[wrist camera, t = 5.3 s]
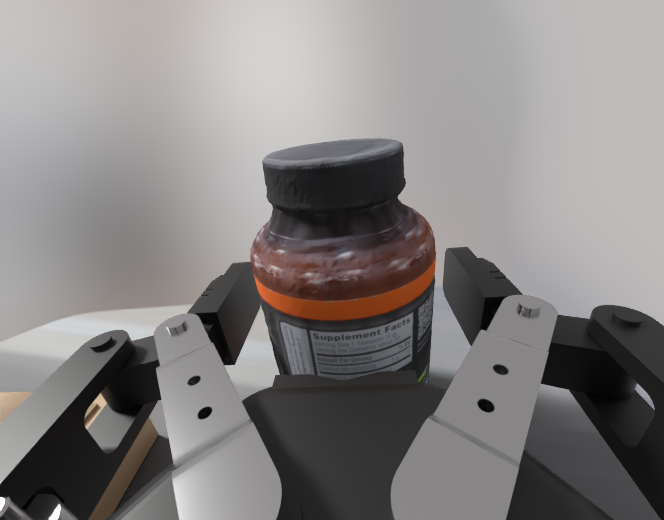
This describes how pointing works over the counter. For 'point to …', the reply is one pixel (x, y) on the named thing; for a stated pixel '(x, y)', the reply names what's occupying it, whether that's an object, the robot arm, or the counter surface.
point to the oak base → (9, 401)
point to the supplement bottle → (344, 262)
